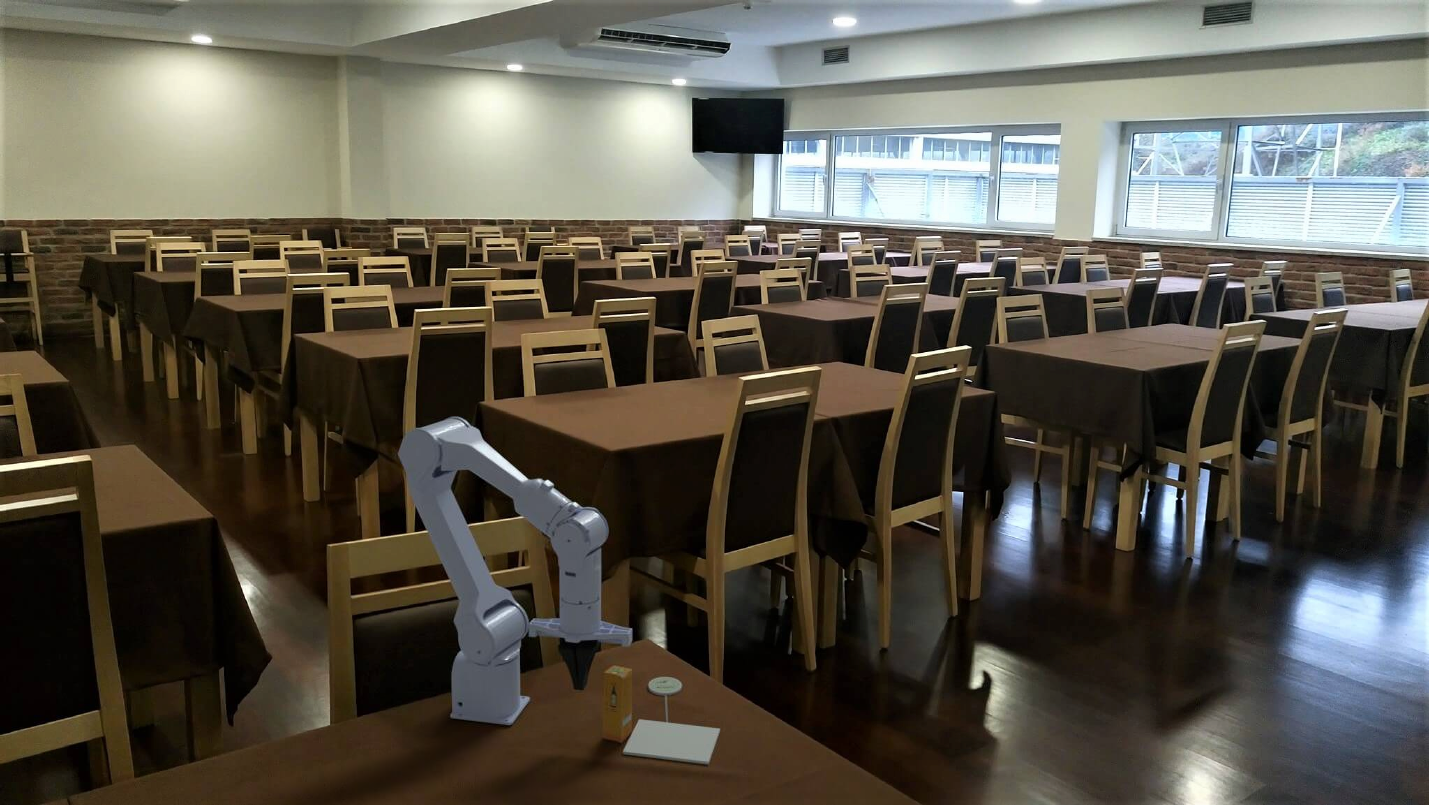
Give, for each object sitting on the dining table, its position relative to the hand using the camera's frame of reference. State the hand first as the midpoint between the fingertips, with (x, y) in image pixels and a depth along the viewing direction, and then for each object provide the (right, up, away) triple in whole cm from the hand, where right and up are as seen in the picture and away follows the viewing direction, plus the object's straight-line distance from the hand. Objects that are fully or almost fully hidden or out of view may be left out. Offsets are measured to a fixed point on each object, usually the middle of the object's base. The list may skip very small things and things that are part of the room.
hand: (580, 686), depth 147 cm
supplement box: (+5, -7, +1) cm, 9 cm away
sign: (+12, -6, +10) cm, 17 cm away
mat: (+13, -8, -1) cm, 15 cm away
